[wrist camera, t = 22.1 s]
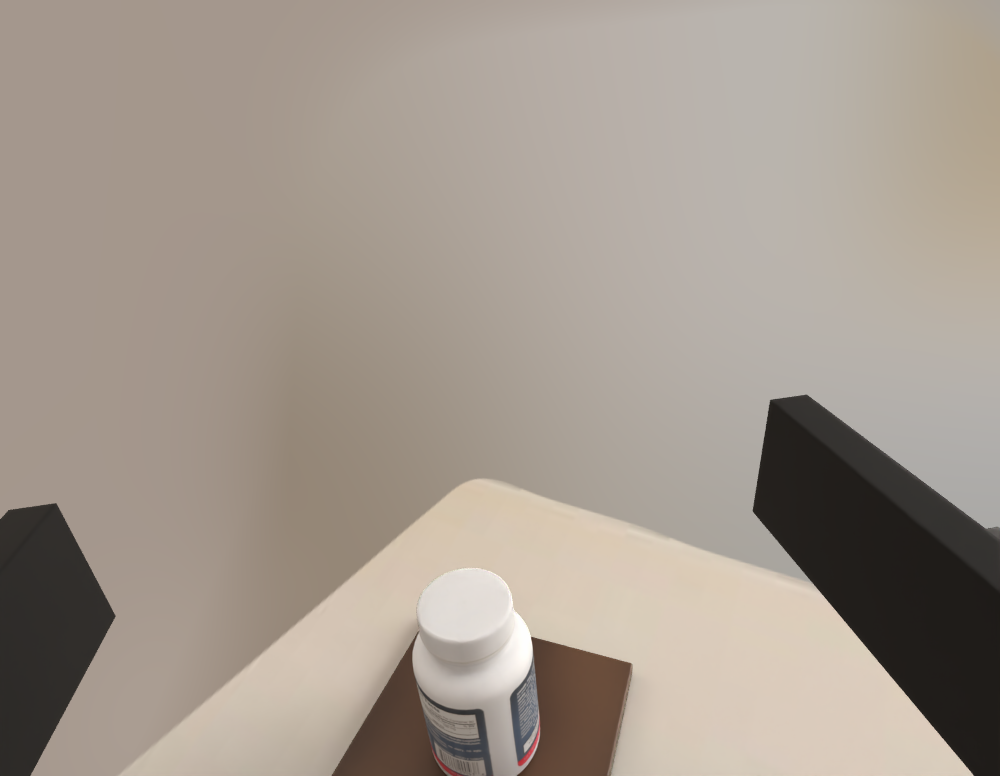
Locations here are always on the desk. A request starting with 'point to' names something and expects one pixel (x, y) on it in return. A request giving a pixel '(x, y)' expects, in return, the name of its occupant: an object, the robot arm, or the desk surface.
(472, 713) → the pill bottle
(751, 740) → the desk surface
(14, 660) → the robot arm
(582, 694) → the coaster
